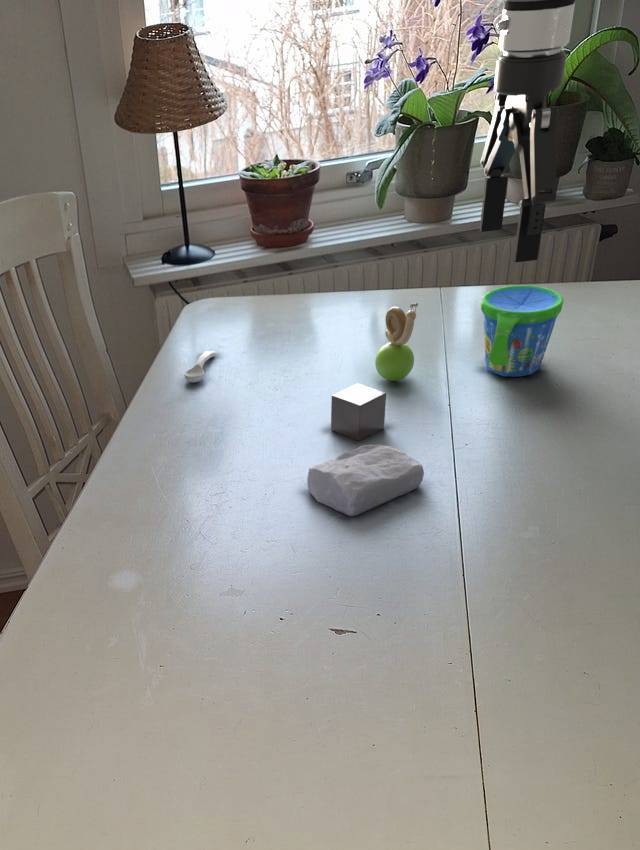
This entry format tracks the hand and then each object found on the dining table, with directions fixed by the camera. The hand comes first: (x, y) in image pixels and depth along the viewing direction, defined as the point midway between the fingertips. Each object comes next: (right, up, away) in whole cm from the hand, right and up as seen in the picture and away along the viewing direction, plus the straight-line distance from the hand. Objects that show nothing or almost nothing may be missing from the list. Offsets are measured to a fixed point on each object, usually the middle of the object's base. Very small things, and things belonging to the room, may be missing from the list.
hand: (507, 244), depth 118 cm
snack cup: (+6, -12, +15) cm, 20 cm away
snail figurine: (-10, -13, +15) cm, 23 cm away
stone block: (-21, -33, -7) cm, 39 cm away
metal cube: (-18, -23, +5) cm, 30 cm away
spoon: (-38, -9, +25) cm, 47 cm away
